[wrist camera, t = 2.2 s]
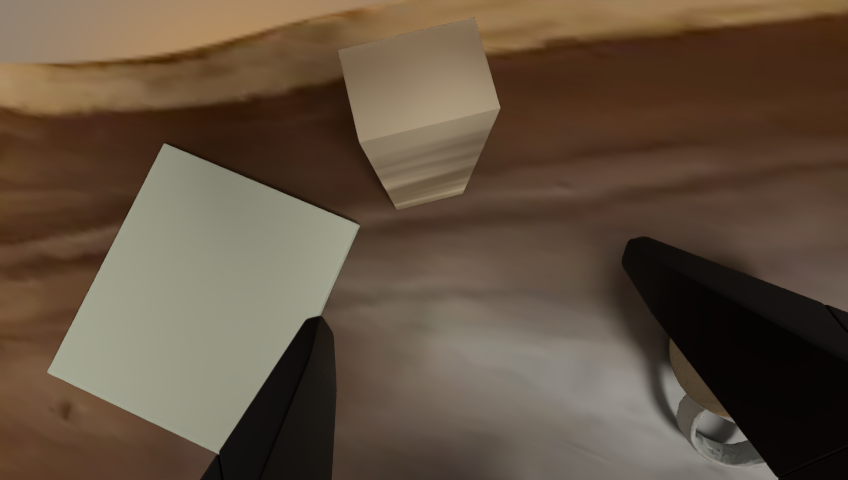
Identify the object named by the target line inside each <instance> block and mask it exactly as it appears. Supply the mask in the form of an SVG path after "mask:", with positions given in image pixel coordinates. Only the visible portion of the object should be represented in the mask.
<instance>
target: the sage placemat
mask: <svg viewBox="0 0 848 480" xmlns="http://www.w3.org/2000/svg"><path fill="white" fill-rule="evenodd" d="M359 227H360V225H358V224H356V223H353V222H351V221H349V220H346V219H344V218H342V217H339V216H337V215H334V214H332V213H330V212H327V211H325V210H322V209H320V208H318V207H315V206H313V205H310V204H308V203H306V202H303V201H301V200H299V199H296V198H294V197H291V196H289V195H287V194H284V193H282V192H279V191H277V190H275V189H272V188H270V187H267V186H265V185H263V184H260V183H258V182H256V181H253V180H251V179H248V178H246V177H244V176H241V175H239V174H236V173H234V172H232V171H229V170H227V169H225V168H222V167H220V166H217V165H215V164H213V163H210V162H208V161H205V160H203V159H201V158H198V157H196V156H193V155H191V154H189V153H186V152H184V151H182V150H179V149H177V148H174V147H172V146H170V145H167V144H165V143H164V145H163V147H162V149H161V150H160V152H159V154H158V156H157V158H156V160H155V162H154V164H153V166H152V168H151V170H150V172H149V174H148V176H147V178H146V180H145V182H144V184H143V186H142V188H141V190H140V192H139V194H138V196H137V197H136V199H135V201H134V203H133V205H132V207H131V209H130V211H129V213H128V215H127V217H126V219H125V221H124V223H123V225H122V227H121V229H120V231H119V233H118V235H117V237H116V239H115V241H114V243H113V244H112V246H111V248H110V250H109V252H108V254H107V256H106V258H105V260H104V262H103V264H102V266H101V268H100V270H99V272H98V274H97V276H96V278H95V280H94V282H93V284H92V286H91V288H90V290H89V291H88V293H87V295H86V297H85V299H84V301H83V303H82V305H81V307H80V309H79V311H78V313H77V315H76V317H75V319H74V321H73V323H72V325H71V327H70V329H69V331H68V333H67V335H66V337H65V338H64V340H63V342H62V344H61V346H60V348H59V350H58V352H57V354H56V356H55V358H54V360H53V362H52V364H51V366H50V368H49V370H48V372H47V373H49V374H51V375H53V376H55V377H58V378H60V379H62V380H64V381H66V382H68V383H70V384H72V385H74V386H76V387H79V388H81V389H83V390H85V391H87V392H89V393H91V394H93V395H95V396H97V397H100V398H102V399H104V400H106V401H108V402H110V403H112V404H114V405H116V406H118V407H121V408H123V409H125V410H127V411H129V412H131V413H133V414H135V415H137V416H139V417H142V418H144V419H146V420H148V421H150V422H152V423H154V424H156V425H158V426H160V427H163V428H165V429H167V430H169V431H171V432H173V433H175V434H177V435H179V436H181V437H184V438H186V439H188V440H190V441H192V442H194V443H196V444H198V445H200V446H202V447H205V448H207V449H209V450H211V451H213V452H215V453H217V454H219V450H220V449H221V447H222V446H223V444H224V443H225V441H226V440H227V438H228V437H229V435H230V434H231V432H232V431H233V429H234V428H235V426H236V425H237V423H238V422H239V420H240V418H241V417H242V415H243V414H244V412H245V411H246V409H247V408H248V406H249V405H250V403H251V402H252V400H253V399H254V397H255V396H256V394H257V393H258V391H259V390H260V388H261V387H262V385H263V383H264V382H265V380H266V379H267V377H268V376H269V374H270V373H271V371H272V370H273V368H274V367H275V365H276V364H277V362H278V361H279V359H280V358H281V356H282V355H283V353H284V351H285V350H286V348H287V347H288V345H289V344H290V342H291V341H292V339H293V338H294V336H295V335H296V333H297V332H298V330H299V329H300V327H301V326H302V324H303V323H304V321H305V320H306V319H307V318H311V317H315V316H320V315H321V313H322V310H323V308H324V306H325V304H326V301H327V299H328V297H329V295H330V292H331V290H332V288H333V286H334V283H335V281H336V279H337V276H338V274H339V272H340V270H341V267H342V265H343V263H344V261H345V258H346V256H347V254H348V252H349V249H350V247H351V245H352V243H353V240H354V238H355V236H356V233H357V231H358V229H359Z"/></svg>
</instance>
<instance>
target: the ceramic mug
mask: <svg viewBox="0 0 848 480" xmlns="http://www.w3.org/2000/svg"><path fill="white" fill-rule="evenodd" d="M669 355H670V361H671V366H672V368H673V371H674V374H675V376H676V378H677V380H678V382H679V384H680V386H681V387H682V388H683V389H684V391H685V392H686V393H687V394H686V396H684V397H683V399H682V400H681V402H680V403H679V407H678V411H677V418H676V419H677V423H678V427H679V429H680V430H681V432H682V433H683V435H684V436H685V437H686V439H687V440H688V441H689V443H690V444H691V445H692V447H693V448H694V449H695V450H696V451H697V452H698V453H699V454H700V455H702V456H703V457H705V458H706V459H708V460H710V461H712V462H715V463H717V464H720V465H723V466H727V467H732V468H756V467H762V466H766V465H767V464H766V463H765V461H764V460H763V459H762V457H761V456H760V455H759V453H758V452H757V451H756V450H755V448H754V447H753V446H752V444H751V443H750V442H749V440H746V441H743V442H738V443H735V444H722V443H718V442H716V441H713V440H710V439H708V438H705V437H703V436H702V435H701V434H700V433H697V432H696V428H697V426H698V423H699V421H700V419H701V418H702V417H703V415H704V413H705V412H706V411H707V410H709V411H711V412H712V413H714V414H716V415H718V416H720V417H722V418H724V419H726V420H729V421H731V422H733V423H735V422H734V421H733V419H732V418H731V417H730V416H729V414H728V413H727V412H726V410H725V409H724V408H723V406H722V405H721V404H720V402H719V401H718V400H717V399H716V397H715V396H714V395H713V393H712V392H711V391H710V389H709V388H708V387H707V385H706V384H705V383H704V382H703V380H702V379H701V378H700V376H699V375H698V374H697V372H696V371H695V370H694V368H693V367H692V366H691V364H690V363H689V362H688V361H687V359H686V358H685V357H684V355H683V354H682V353H681V351H680V350H679V349H678V347H677V346H676V345H675V344H674V342H673V341H672V340H671V338H670V345H669Z"/></svg>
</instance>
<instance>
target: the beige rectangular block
mask: <svg viewBox="0 0 848 480" xmlns="http://www.w3.org/2000/svg"><path fill="white" fill-rule="evenodd" d="M338 53H339V57H340V62H341V66H342V70H343V75H344V79H345V83H346V88H347V92H348V96H349V101H350V105H351V109H352V114H353V118H354V122H355V127H356V131H357V135H358V139H359V143H360V145H361V147H362V148H363V150H364V152H365V154H366V156H367V157H368V159H369V161H370V163H371V165H372V166H373V168H374V170H375V172H376V174H377V175H378V177H379V179H380V181H381V182H382V184H383V186H384V188H385V190H386V191H387V193H388V195H389V197H390V199H391V200H392V202H393V204H394V206H395V208H396V209H397V210H399V209H403V208H407V207H411V206H415V205H419V204H423V203H427V202H431V201H435V200H439V199H444V198H448V197H452V196H456V195H460V194H463V192H464V190H465V187H466V185H467V183H468V181H469V178H470V176H471V174H472V171H473V169H474V167H475V165H476V162H477V160H478V158H479V156H480V153H481V151H482V149H483V146H484V144H485V142H486V140H487V137H488V135H489V133H490V130H491V128H492V126H493V124H494V121H495V119H496V117H497V114H498V112H499V110H500V105H499V102H498V98H497V95H496V91H495V88H494V84H493V81H492V77H491V73H490V70H489V66H488V63H487V59H486V56H485V52H484V49H483V45H482V42H481V38H480V35H479V31H478V27H477V24H476V20H475V17H473V18H469V19H465V20H461V21H456V22H452V23H448V24H444V25H440V26H436V27H432V28H427V29H423V30H419V31H415V32H411V33H407V34H403V35H398V36H394V37H390V38H386V39H382V40H378V41H374V42H369V43H365V44H361V45H357V46H353V47H349V48H345V49H341V50H338Z"/></svg>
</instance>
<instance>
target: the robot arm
mask: <svg viewBox="0 0 848 480" xmlns="http://www.w3.org/2000/svg"><path fill="white" fill-rule="evenodd" d="M622 265H623V268H624V270H625V271H626V273H627V274H628V276H629V278H630V279H631V281H632V283H633V284H634V286H635V288H636V289H637V291H638V293H639V294H640V296H641V297H642V299H643V301H644V302H645V304H646V306H647V307H648V309H649V310H650V312H651V313H652V314H653V316H654V317H655V319H656V320H657V321H658V323H659V324H660V325H661V327H662V328H663V329H664V330H665V332H666V333H667V334H668V336H669V337H670V338H671V340H672V341H673V342H674V344H675V345H676V346H677V347H678V349H679V350H680V351H681V353H682V354H683V355H684V357H685V358H686V359H687V361H688V362H689V363H690V364H691V366H692V367H693V368H694V370H695V371H696V372H697V374H698V375H699V376H700V378H701V379H702V380H703V382H704V383H705V384H706V385H707V387H708V388H709V389H710V391H711V392H712V393H713V395H714V396H715V397H716V399H717V400H718V401H719V402H720V404H721V405H722V406H723V408H724V409H725V410H726V412H727V413H728V414H729V416H730V417H731V418H732V419H733V421H734V422H735V423H736V425H737V426H738V427H739V429H740V430H741V431H742V433H743V434H744V435H745V436H746V438H747V439H748V440H749V442H750V443H751V444H752V446H753V447H754V448H755V450H756V451H757V452H758V453H759V455H760V456H761V457H762V459H763V460H764V461H765V463H766V464H767V465H768V467H769V468H770V469H771V470H772V472H773V473H774V474H775V476H776V477H778V480H848V312H845V311H842V310H840V309H837V308H835V307H832V306H829V305H824V304H823V303H821V302H818V301H816V300H813V299H810V298H808V297H805V296H803V295H800V294H797V293H795V292H792V291H789V290H787V289H784V288H781V287H779V286H776V285H773V284H771V283H768V282H765V281H763V280H760V279H757V278H755V277H752V276H750V275H747V274H744V273H742V272H739V271H736V270H734V269H731V268H728V267H726V266H723V265H720V264H718V263H715V262H712V261H710V260H707V259H704V258H702V257H699V256H697V255H694V254H691V253H689V252H686V251H683V250H681V249H678V248H675V247H673V246H670V245H667V244H665V243H662V242H659V241H657V240H654V239H651V238H649V237H645V236H643V237H638V238H634V239H631V240H629V241H628V242H627V245H626V248H625V251H624V254H623V257H622ZM336 390H337V389H336V367H335V349H334V336H333V332H332V330H331V329H330V327H329V326H328V324H327V323H326V321H325V320H324V318H323V317H322V316H315V317H311V318H307V319H306V320H305V321H304V323H303V324H302V326H301V327H300V329H299V330H298V332H297V333H296V335H295V336H294V338H293V339H292V341H291V342H290V344H289V345H288V347H287V348H286V350H285V351H284V353H283V355H282V356H281V358H280V359H279V361H278V362H277V364H276V365H275V367H274V368H273V370H272V371H271V373H270V374H269V376H268V377H267V379H266V380H265V382H264V383H263V385H262V387H261V388H260V390H259V391H258V393H257V394H256V396H255V397H254V399H253V400H252V402H251V403H250V405H249V406H248V408H247V409H246V411H245V412H244V414H243V415H242V417H241V418H240V420H239V422H238V423H237V425H236V426H235V428H234V429H233V431H232V432H231V434H230V435H229V437H228V438H227V440H226V441H225V443H224V444H223V446H222V447H221V449H220V450H219V454H218V455H216V456H215V458H214V459H213V461H212V462H211V464H210V465H209V467H208V469H207V470H206V472H205V473H204V475H203V476H202V478H201V479H200V480H332V463H333V446H334V429H335V411H336Z"/></svg>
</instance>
